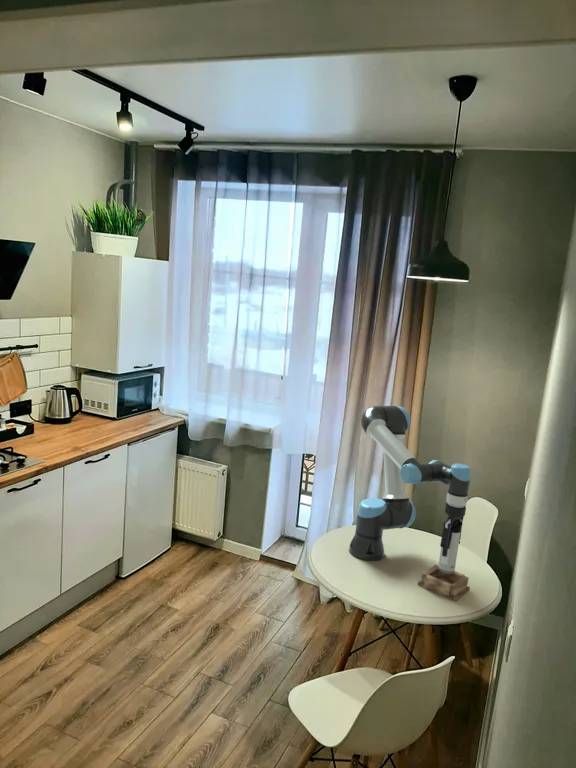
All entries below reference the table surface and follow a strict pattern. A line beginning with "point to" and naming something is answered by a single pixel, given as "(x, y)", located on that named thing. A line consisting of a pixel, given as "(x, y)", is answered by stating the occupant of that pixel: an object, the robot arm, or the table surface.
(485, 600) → the table surface
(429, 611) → the table surface
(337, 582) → the table surface
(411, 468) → the robot arm
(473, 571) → the table surface
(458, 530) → the travel mug
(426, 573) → the holder
